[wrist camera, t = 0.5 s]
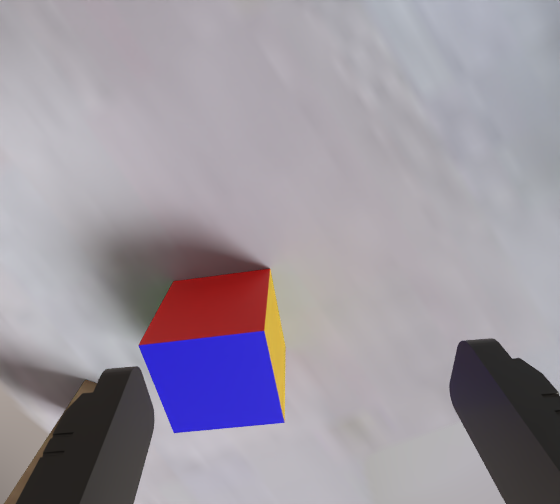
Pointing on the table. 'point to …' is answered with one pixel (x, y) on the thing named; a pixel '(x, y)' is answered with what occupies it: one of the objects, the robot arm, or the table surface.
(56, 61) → the table surface
